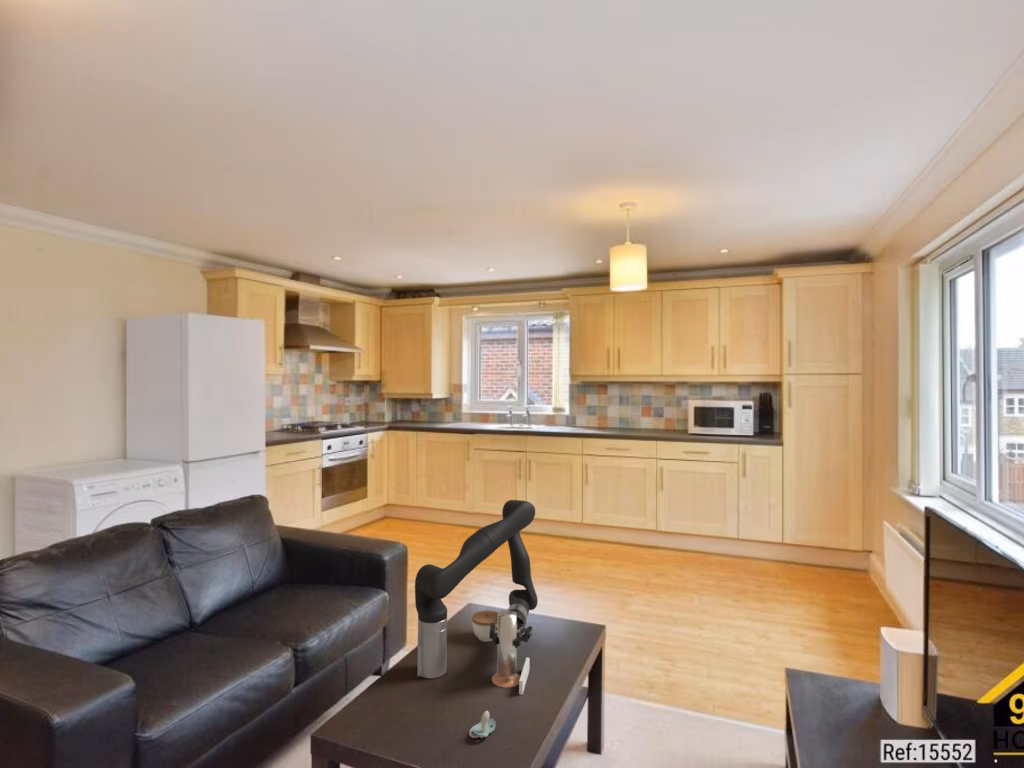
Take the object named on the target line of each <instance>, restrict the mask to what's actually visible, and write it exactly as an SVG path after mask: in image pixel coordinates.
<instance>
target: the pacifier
mask: <svg viewBox="0 0 1024 768" xmlns="http://www.w3.org/2000/svg"><path fill="white" fill-rule="evenodd" d="M490 716H491V715H490V712H489V711H488V710H485V711H484V712H483V713H482V716H481V718H480V722H478V723H477V724H475V725H473V726H472V727H471V728H470V729H469V732H468V735H469V736H470V738H473V739H474V738H475V739H477V738H479V737H480V739H484V738H486V737H488V736H489V734H491V733H492V732H494V730H495V729H496V724H497V722H496V721H495V719H494V718H492V717H491V718H490ZM472 732H473V733H472ZM483 737H484V738H483Z"/></svg>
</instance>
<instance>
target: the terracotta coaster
mask: <svg viewBox="0 0 1024 768" xmlns="http://www.w3.org/2000/svg"><path fill="white" fill-rule="evenodd" d="M520 677H521V675H520V674H519V673H517V672H516V674H515V675H513V676H511V677H503V676H500V675H499V674H498V673H497V672H496V673H494V674H493V675H492V677H491V682H492V684H493V685H495V686H496V687H499V688H505V689H509V688H514V687H516V686H519V680H520Z"/></svg>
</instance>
